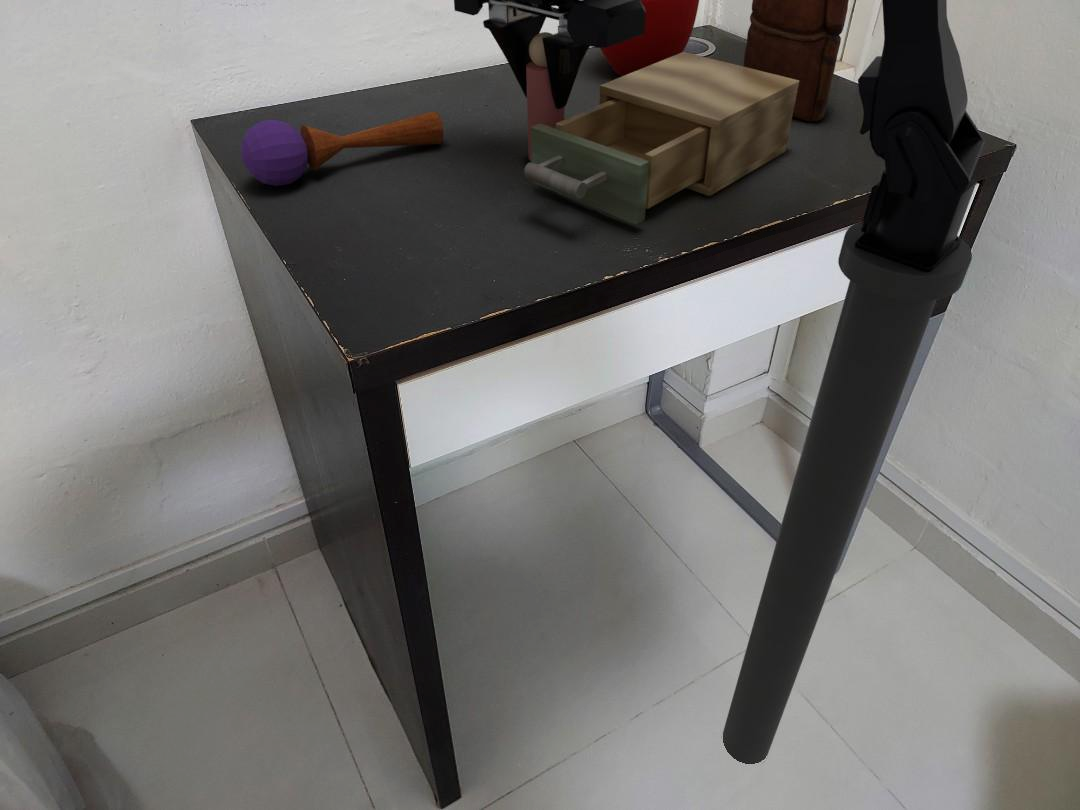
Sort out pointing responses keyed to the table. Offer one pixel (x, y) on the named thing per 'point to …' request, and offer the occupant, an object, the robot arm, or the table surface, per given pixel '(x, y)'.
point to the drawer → (619, 157)
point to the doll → (540, 90)
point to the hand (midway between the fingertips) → (546, 102)
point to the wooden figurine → (798, 47)
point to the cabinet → (717, 110)
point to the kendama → (324, 145)
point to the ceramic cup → (655, 36)
